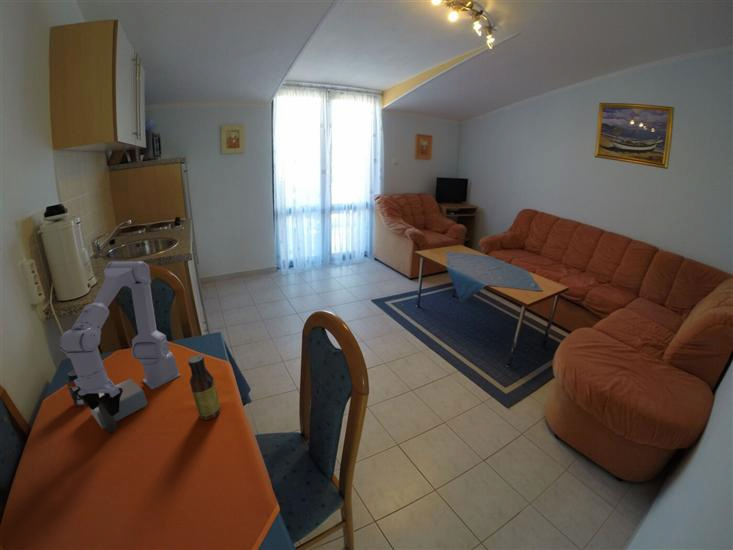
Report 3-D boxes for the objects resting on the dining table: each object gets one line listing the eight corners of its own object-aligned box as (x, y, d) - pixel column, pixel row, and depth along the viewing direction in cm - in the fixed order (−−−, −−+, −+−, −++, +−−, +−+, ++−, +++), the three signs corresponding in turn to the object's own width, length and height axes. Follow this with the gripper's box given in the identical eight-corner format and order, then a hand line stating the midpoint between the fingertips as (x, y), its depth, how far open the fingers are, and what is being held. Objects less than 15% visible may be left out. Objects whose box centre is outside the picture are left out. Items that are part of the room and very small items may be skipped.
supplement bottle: (85, 408, 106) (73, 379, 102) (70, 406, 108) (58, 376, 103) (102, 395, 112) (92, 367, 108) (88, 393, 113) (77, 365, 109)
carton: (135, 393, 113) (130, 378, 111) (146, 404, 108) (142, 389, 105) (92, 414, 104) (86, 399, 102) (102, 428, 99) (96, 412, 96)
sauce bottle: (225, 409, 105) (214, 355, 98) (209, 423, 100) (195, 367, 92) (210, 403, 107) (198, 350, 100) (193, 417, 102) (179, 362, 95)
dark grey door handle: (147, 403, 107) (139, 379, 104) (153, 410, 104) (146, 385, 101) (102, 427, 98) (92, 401, 95) (108, 435, 95) (98, 409, 92)
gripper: (55, 373, 88) (72, 414, 93) (93, 385, 84) (109, 427, 89) (84, 358, 95) (98, 397, 99) (121, 368, 90) (134, 408, 95)
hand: (105, 410), depth 95 cm, fingers open, 7 cm apart
